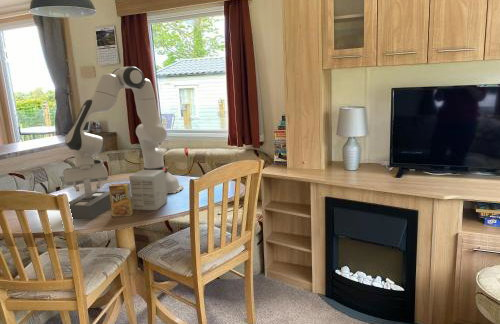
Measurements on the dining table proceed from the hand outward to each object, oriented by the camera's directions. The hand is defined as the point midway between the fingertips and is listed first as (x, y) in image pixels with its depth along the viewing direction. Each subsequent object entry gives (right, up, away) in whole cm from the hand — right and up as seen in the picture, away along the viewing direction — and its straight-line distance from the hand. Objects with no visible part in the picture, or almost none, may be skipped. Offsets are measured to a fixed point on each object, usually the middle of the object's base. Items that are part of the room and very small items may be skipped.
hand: (88, 189), depth 189 cm
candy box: (+18, -12, -4) cm, 22 cm away
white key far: (-1, -9, -4) cm, 10 cm away
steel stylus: (0, -6, +2) cm, 7 cm away
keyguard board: (0, -11, +3) cm, 12 cm away
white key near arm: (+1, -6, +9) cm, 11 cm away
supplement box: (+29, -9, +8) cm, 31 cm away
